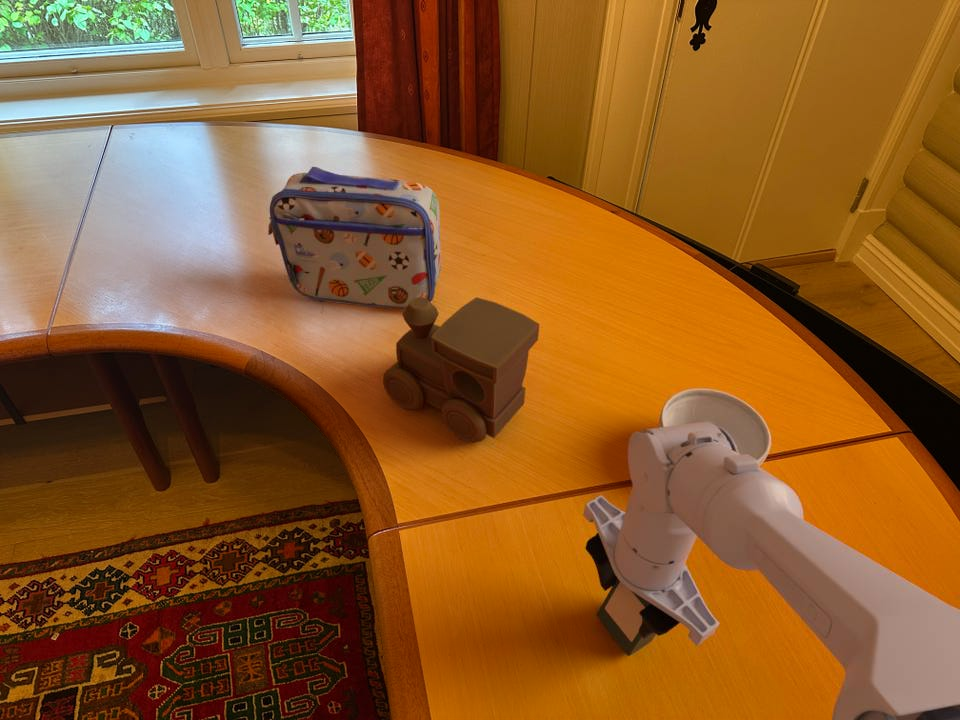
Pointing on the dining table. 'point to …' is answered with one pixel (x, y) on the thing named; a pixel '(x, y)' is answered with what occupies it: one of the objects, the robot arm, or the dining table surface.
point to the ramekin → (720, 418)
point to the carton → (624, 617)
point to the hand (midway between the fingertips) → (629, 606)
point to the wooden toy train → (463, 365)
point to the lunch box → (358, 238)
